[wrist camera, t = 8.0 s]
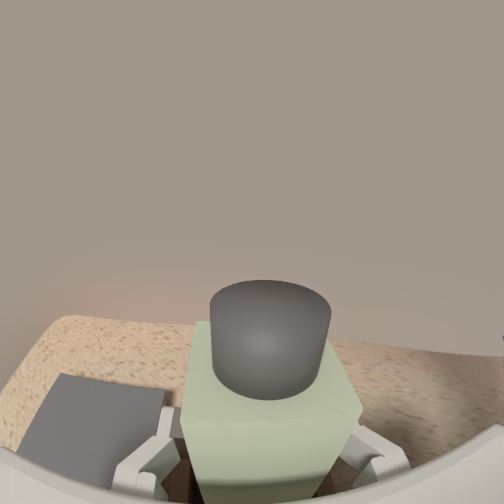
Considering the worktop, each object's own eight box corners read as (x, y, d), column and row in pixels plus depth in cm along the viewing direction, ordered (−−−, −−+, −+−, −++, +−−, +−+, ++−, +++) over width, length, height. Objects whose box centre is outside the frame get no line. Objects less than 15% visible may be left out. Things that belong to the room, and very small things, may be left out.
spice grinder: (282, 464, 14) (325, 271, 10) (293, 521, 10) (388, 350, 5) (212, 467, 14) (193, 270, 9) (213, 525, 9) (167, 359, 5)
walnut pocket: (305, 441, 16) (312, 418, 15) (330, 540, 8) (347, 531, 7) (183, 444, 15) (177, 421, 14) (176, 548, 7) (164, 542, 6)
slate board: (167, 401, 19) (165, 390, 19) (143, 595, 3) (135, 595, 3) (66, 384, 18) (60, 372, 18) (1, 531, 2) (-12, 523, 2)
